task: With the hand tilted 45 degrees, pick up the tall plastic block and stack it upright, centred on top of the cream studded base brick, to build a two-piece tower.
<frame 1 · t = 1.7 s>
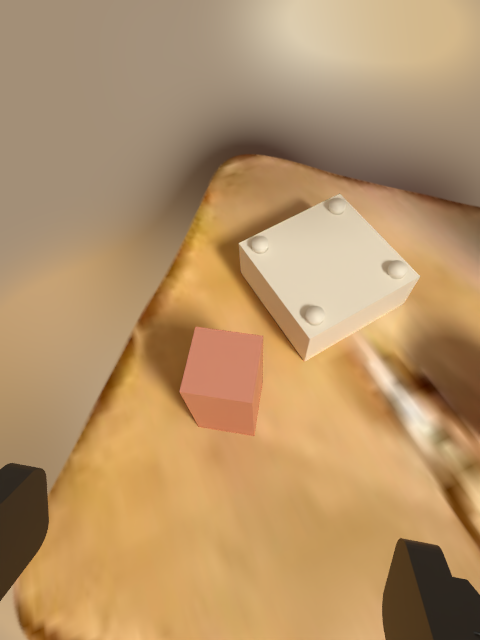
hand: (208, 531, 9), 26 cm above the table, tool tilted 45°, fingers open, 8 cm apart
tall block: (231, 404, 37), on the table
base brick: (319, 287, 43), on the table
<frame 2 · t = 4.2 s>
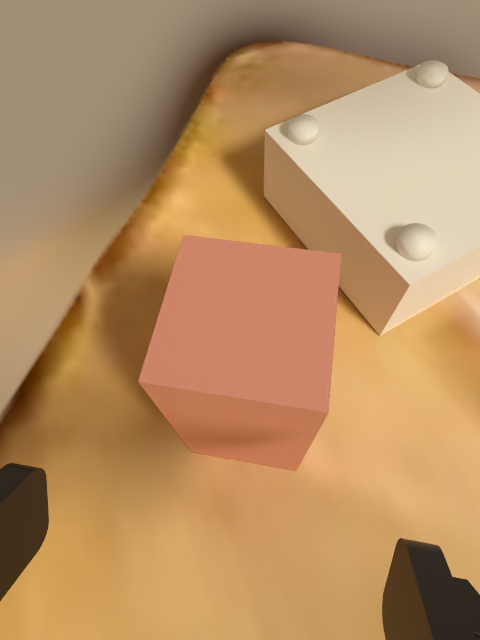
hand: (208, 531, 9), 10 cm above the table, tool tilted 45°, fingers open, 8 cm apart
tall block: (251, 410, 21), on the table
base brick: (394, 218, 26), on the table
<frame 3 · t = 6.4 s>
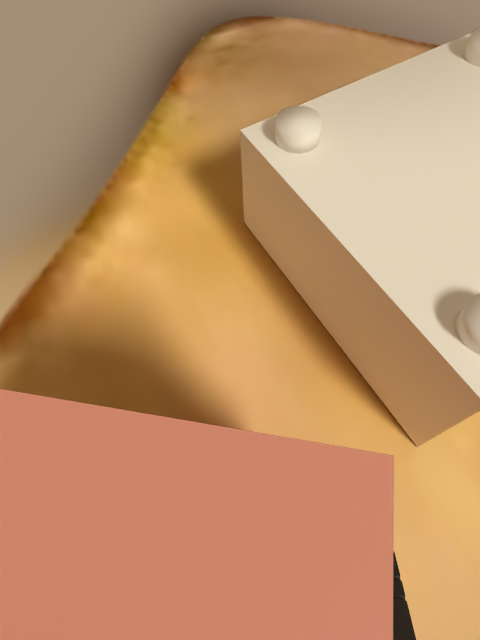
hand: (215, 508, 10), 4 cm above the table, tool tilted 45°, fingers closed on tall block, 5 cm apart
tall block: (217, 581, 13), on the table, touching gripper
base brick: (430, 255, 18), on the table
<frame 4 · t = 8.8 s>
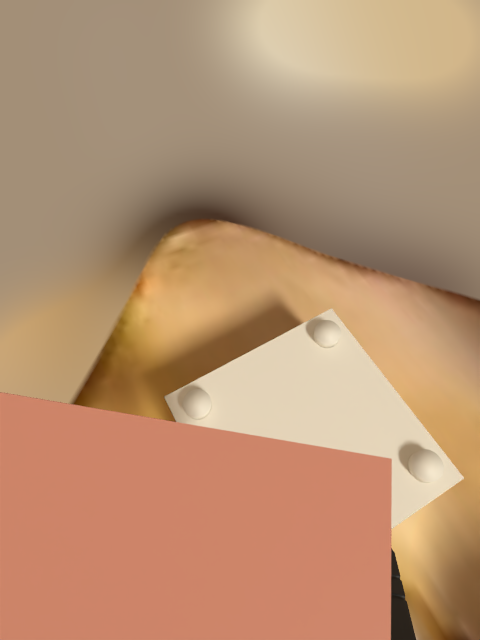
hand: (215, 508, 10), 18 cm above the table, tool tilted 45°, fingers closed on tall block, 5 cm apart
tall block: (216, 583, 13), point 13 cm above the table, touching gripper
base brick: (296, 452, 27), on the table
when the fingers open (11 cm above the table, at t = 11.5 s): tall block drops 1 cm, resting on base brick.
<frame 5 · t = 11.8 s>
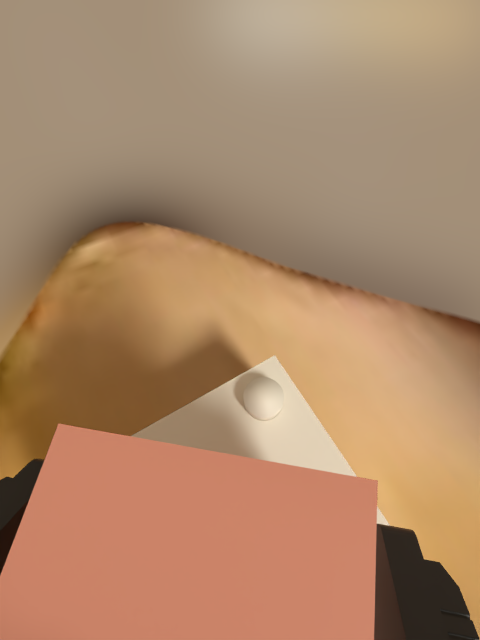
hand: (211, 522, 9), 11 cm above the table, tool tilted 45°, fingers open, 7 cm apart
tall block: (225, 581, 14), point 5 cm above the table, touching base brick
base brick: (229, 568, 18), on the table
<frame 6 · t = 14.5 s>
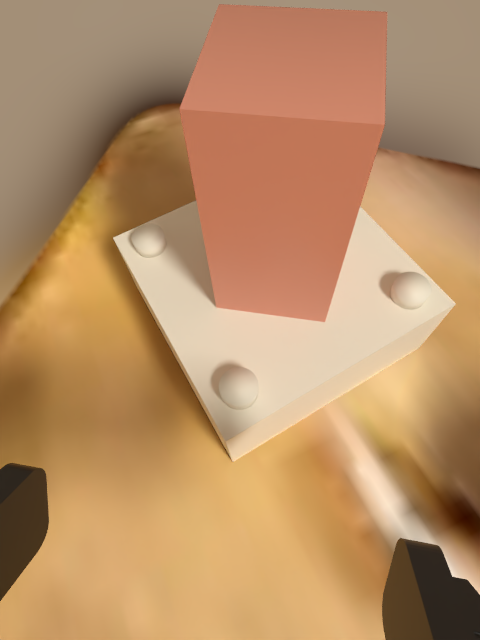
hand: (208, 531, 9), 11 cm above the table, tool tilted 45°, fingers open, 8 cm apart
tall block: (277, 270, 20), point 5 cm above the table, touching base brick
base brick: (270, 317, 24), on the table
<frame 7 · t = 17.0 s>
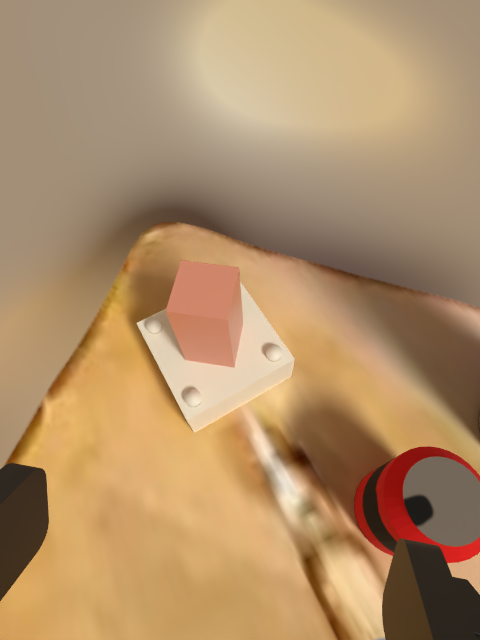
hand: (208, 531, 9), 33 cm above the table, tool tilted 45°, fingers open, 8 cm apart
tall block: (214, 341, 42), point 5 cm above the table, touching base brick
base brick: (217, 359, 46), on the table
soda can: (393, 510, 39), on the table
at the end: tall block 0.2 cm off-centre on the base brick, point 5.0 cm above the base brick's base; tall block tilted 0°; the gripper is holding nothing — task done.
